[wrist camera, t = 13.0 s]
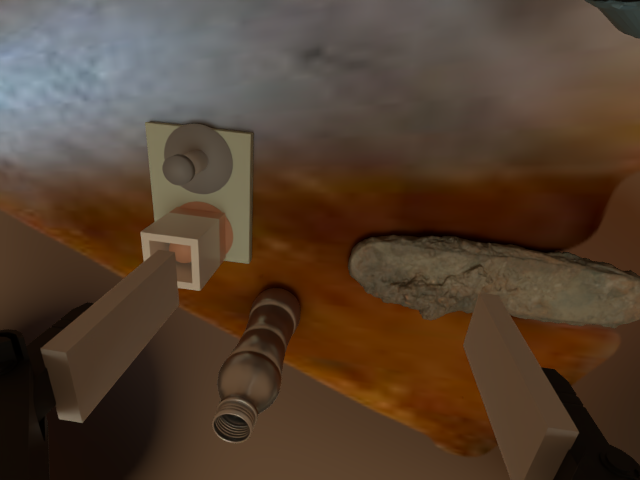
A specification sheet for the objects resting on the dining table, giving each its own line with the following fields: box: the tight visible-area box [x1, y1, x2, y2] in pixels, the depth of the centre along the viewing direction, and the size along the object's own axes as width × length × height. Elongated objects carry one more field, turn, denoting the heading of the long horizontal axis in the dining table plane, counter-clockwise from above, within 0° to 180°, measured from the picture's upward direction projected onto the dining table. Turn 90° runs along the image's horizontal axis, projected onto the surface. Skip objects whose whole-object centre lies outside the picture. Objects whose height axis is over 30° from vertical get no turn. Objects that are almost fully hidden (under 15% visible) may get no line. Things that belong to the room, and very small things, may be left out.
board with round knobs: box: [145, 121, 254, 264], centre depth 43 cm, size 17×12×7 cm
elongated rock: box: [348, 235, 640, 328], centre depth 45 cm, size 35×5×10 cm
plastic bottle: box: [212, 288, 300, 443], centre depth 42 cm, size 6×7×20 cm
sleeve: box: [141, 207, 226, 291], centre depth 43 cm, size 6×6×8 cm
